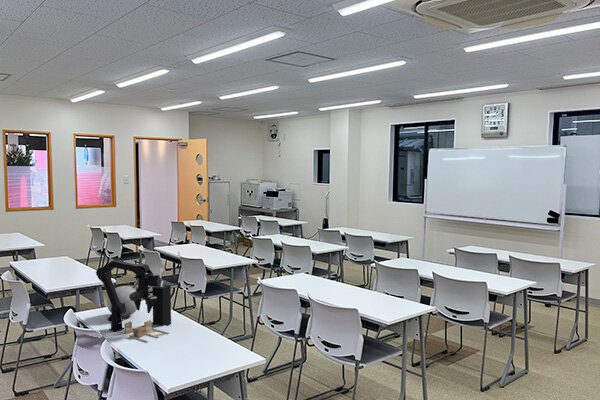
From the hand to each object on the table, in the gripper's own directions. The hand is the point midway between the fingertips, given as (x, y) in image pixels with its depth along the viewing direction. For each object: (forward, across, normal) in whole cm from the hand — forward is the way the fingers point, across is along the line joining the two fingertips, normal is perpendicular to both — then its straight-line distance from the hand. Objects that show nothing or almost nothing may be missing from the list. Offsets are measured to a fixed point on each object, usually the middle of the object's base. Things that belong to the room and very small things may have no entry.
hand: (143, 311), depth 269 cm
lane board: (+12, +11, -5) cm, 17 cm away
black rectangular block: (+12, +1, +13) cm, 18 cm away
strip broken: (+12, +11, -1) cm, 16 cm away
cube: (+10, +7, -9) cm, 15 cm away
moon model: (+12, -33, +11) cm, 37 cm away
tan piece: (+12, +3, -9) cm, 15 cm away
